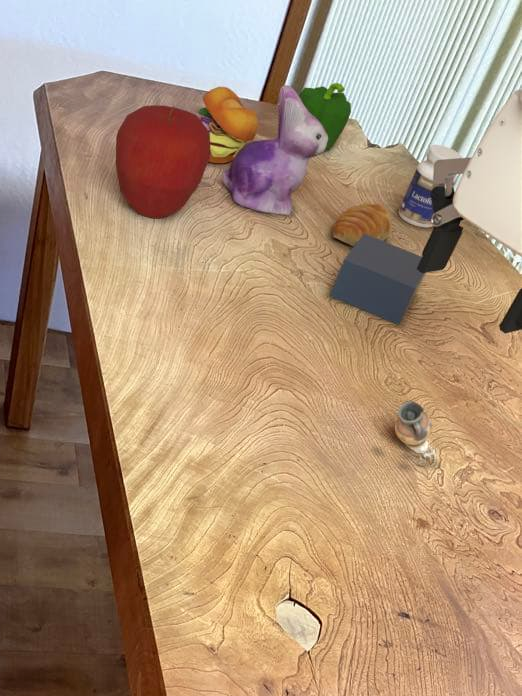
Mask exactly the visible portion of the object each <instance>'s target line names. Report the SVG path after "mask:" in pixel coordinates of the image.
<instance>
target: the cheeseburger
mask: <svg viewBox="0 0 522 696" xmlns="http://www.w3.org/2000/svg"><path fill="white" fill-rule="evenodd" d="M202 101H203V104H204V106H205V107H201V108H200V109H198V111H197V110H196V111H192V112H191V113H193V114H195V115H197V116H198V118H199V119H200V120H201V121H202V123H203V124H204V125H205V127H206V128H207V130H208V131H209V132H210V150H211V151H210V158H209V161H208V163H212V164H225V163H231V162H232V161H233V159H234V157H235V156H236V154H237V153H238V152H239V150H240V149H241V148H242V147H244V146H245V145H247V144H248V142H252V141H254V139H255V137H256V135H257V133H258V129H259V119H258V115H257V112H255V111H254V110H253V109H251V108H247V107H245V106H244V105H243V103H242V101H241V100H240V98H239V96H238V95H237V93H235V92H234V91H233V90H232V89H230V88H229V87H226V86H217V87H214V88H211V89H209V91H207V92H206V93H205V94H204V95H203V97H202Z"/></svg>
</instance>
